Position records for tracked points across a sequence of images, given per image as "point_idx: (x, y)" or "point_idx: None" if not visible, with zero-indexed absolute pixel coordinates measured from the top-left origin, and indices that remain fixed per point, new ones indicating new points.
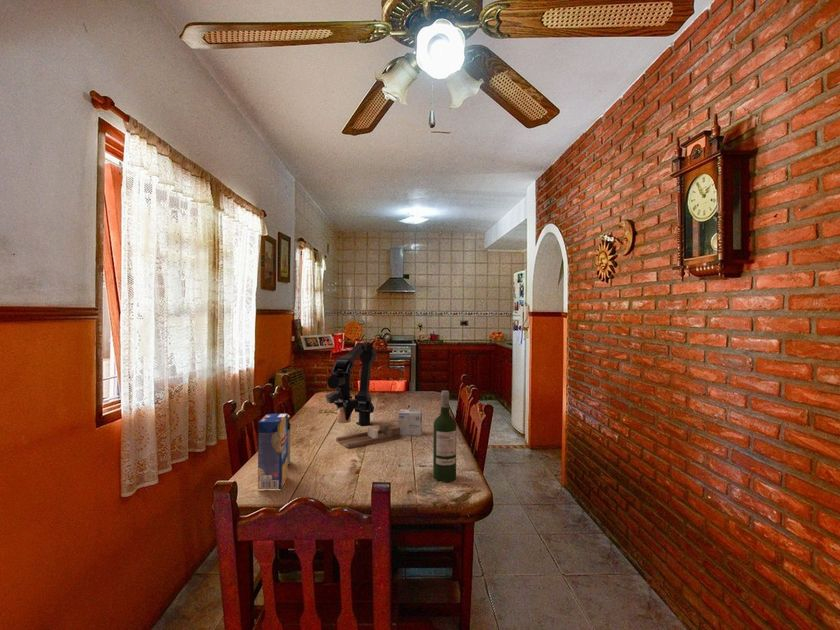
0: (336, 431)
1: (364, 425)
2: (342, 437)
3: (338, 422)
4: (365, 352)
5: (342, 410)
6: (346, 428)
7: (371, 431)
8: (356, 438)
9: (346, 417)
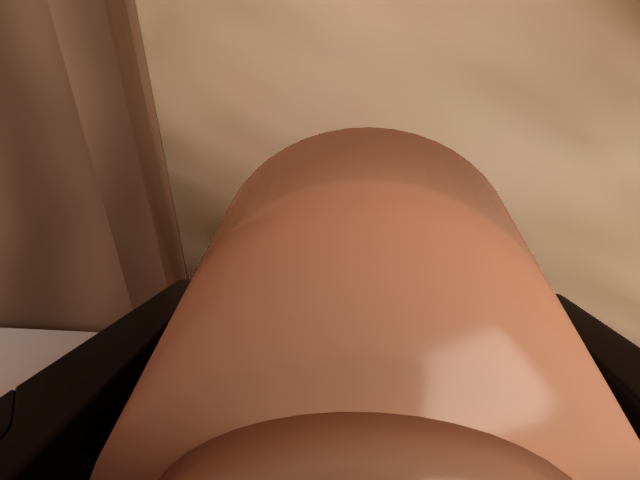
0: (622, 157)
1: None
2: (57, 9)
3: (346, 130)
4: None
5: (175, 466)
6: (626, 312)
7: (12, 380)
8: (96, 203)
9: (125, 326)
